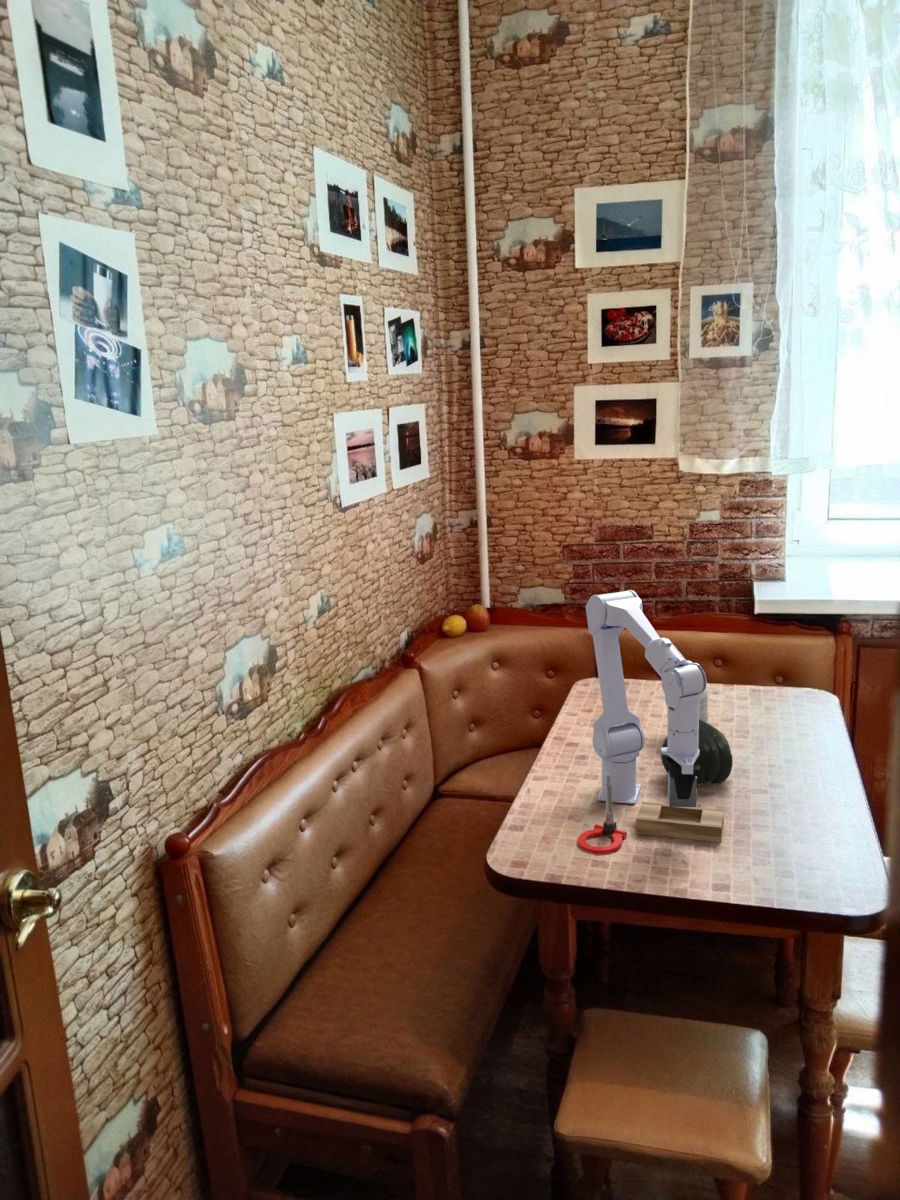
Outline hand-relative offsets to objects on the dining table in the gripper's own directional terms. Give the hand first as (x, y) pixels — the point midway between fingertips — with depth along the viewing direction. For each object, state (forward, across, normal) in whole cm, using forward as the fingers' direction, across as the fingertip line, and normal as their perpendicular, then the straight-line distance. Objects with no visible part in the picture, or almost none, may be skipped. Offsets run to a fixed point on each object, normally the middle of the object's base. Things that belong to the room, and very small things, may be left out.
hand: (682, 794), depth 184 cm
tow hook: (+9, +3, -16) cm, 18 cm away
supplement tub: (+9, -52, +8) cm, 53 cm away
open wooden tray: (+9, -4, 0) cm, 10 cm away
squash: (+9, -27, +6) cm, 30 cm away
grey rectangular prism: (+2, 0, 0) cm, 2 cm away
